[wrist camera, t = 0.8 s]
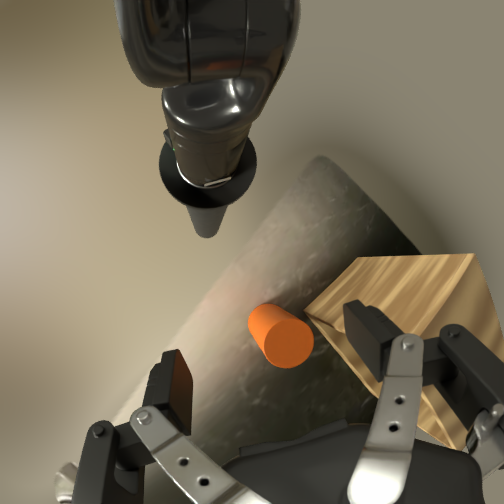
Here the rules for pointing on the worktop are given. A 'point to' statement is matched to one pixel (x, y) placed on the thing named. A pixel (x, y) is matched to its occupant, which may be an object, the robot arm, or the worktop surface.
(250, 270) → the worktop surface
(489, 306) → the shelf unit
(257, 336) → the can
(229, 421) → the worktop surface
